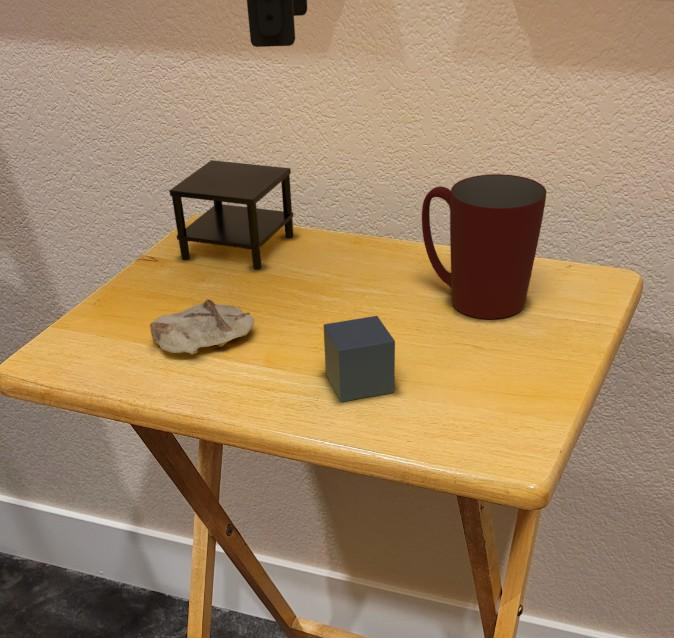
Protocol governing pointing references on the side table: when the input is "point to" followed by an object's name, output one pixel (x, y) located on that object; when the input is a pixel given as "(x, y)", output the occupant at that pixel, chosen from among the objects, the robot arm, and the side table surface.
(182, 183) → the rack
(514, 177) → the mug
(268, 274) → the side table surface
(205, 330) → the stone
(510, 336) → the side table surface
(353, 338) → the block
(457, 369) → the side table surface
